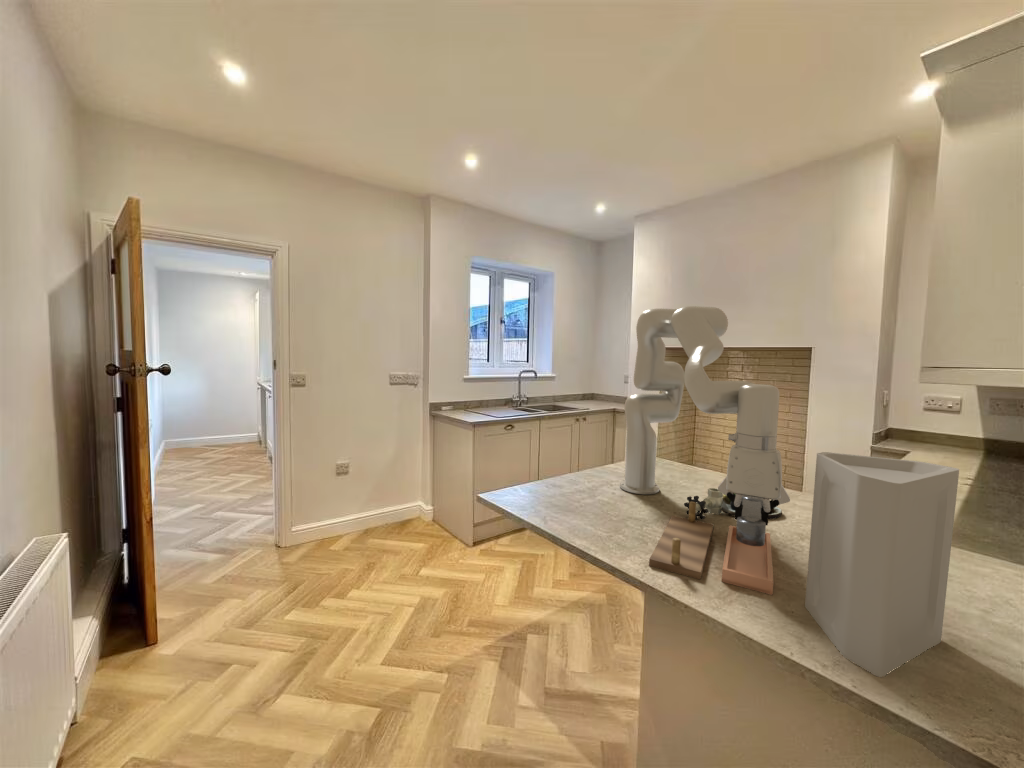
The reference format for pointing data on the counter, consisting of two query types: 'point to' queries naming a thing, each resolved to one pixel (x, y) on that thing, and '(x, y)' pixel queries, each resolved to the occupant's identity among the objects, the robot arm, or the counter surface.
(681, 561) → the board
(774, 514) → the salad plate
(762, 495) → the robot arm
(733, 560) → the slot holder
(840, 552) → the paper bag
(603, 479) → the counter surface
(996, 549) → the counter surface
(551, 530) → the counter surface
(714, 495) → the valve
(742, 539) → the grey long knobbed bar
